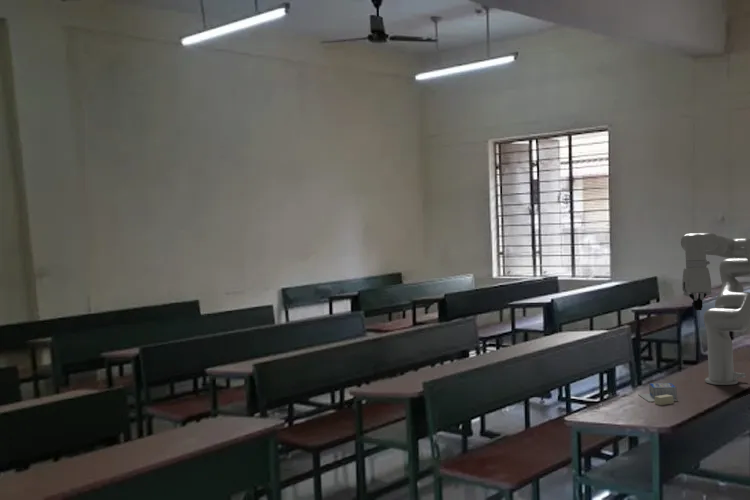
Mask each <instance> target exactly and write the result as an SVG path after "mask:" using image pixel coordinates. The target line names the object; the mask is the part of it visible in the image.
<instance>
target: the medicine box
mask: <svg viewBox="0 0 750 500" xmlns="http://www.w3.org/2000/svg"><path fill="white" fill-rule="evenodd" d="M648 388H649V389H648V390H649V392H648V393H649V394H651V395H652V396H653V397H654V398H655V396H660V395H666V394H668V395H672V396H673V398H675V399H677V398H678V395H677V394H678V393H677V386H675V385H674V384H673V383H672V382H667V383H666V382H662V383H660V382H659V383H658V382H657V383H654V382H653V383H649V384H648Z"/></svg>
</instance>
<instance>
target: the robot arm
mask: <svg viewBox="0 0 750 500" xmlns="http://www.w3.org/2000/svg"><path fill="white" fill-rule="evenodd" d="M680 245H681V246H680V247H681V248H682V250H683V251H684V253H685V268H683V271H682V283H681V284H682V285H681V287H682V292H683V294H682V295H683V296H685V297H689V298H690V299H691V300H692V302H693V306H692V307H693V309H694V310H695V311H702V309H703V300H704V299H705V298H706V296H711V295H712V279H711V275H710V270H709V267H707V266H708V265H710V264H711V262H710V260H709V261H708V260H707V255H708V256H715V257H716V256H717V257H721V258H725V259H723V260H722V261H720V263H719V274H720V280H721V285H722V286H721V288H720V291H719V293H718V295H717V296H716V300H715V301H714V307H713V308H712V307H711V308H708V309H707V310H705V311H704V314H703V322H704V325H705V331H706V341H707V359H708V360H707V361H708V362H707V363H708V364H707V365H708V367H707V368H708V376H707V377H706V378H704V381H705V383H707V384H709V385H716V386H733V385H736V384H737V385H738V383H739V378H746V377H747V375H746V372H737V371H734V353H733V340H732V338H731V336H730V334H729V333H728V332H737V333H738V332H739V333H742V332H745V331H747V330H748V329H749V327H750V292H749V291H744V286H743V285H742V283H741V282H740V281H739V280H737V279H736V278H750V238H748V237H741V238H738V237H736V238H730V237H726V236H723V235H717V234H716V233H713V232H698V233H697V232H692V233H691V232H690V233H685V234H684V235H683V236H681V238H680Z"/></svg>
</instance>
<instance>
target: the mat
mask: <svg viewBox="0 0 750 500" xmlns="http://www.w3.org/2000/svg"><path fill="white" fill-rule="evenodd" d="M638 396H639V397H641V398H642V399H643V400H645V401H646V402H648V403H655V398H654V397H653V396H652V395H651V394H650V393H638ZM673 402H678V399H677V398H673Z"/></svg>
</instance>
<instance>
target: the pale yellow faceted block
mask: <svg viewBox="0 0 750 500" xmlns="http://www.w3.org/2000/svg"><path fill="white" fill-rule="evenodd" d="M654 404H655V405H658V406H663V405H669V404H670V405H671V404H674V401H673V396H672V395H668V394H666V395H660V396H655V402H654Z"/></svg>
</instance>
